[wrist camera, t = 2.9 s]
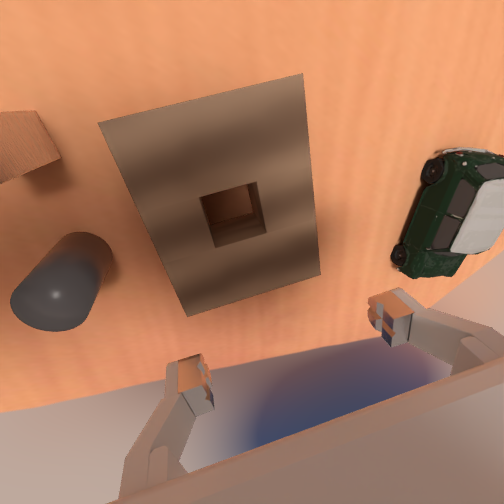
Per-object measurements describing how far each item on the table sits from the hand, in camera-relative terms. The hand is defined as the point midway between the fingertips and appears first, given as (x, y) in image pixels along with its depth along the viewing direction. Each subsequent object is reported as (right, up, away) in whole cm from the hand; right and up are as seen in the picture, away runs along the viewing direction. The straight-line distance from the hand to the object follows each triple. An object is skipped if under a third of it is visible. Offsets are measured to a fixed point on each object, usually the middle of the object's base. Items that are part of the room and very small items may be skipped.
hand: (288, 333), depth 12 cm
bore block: (-5, +10, +18) cm, 21 cm away
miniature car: (+24, +10, +26) cm, 37 cm away
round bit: (-20, +3, +18) cm, 27 cm away
